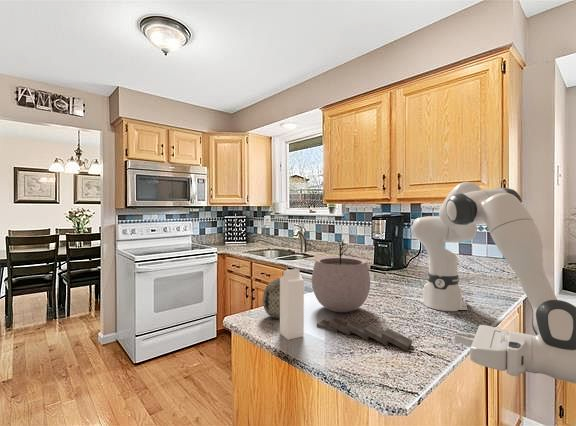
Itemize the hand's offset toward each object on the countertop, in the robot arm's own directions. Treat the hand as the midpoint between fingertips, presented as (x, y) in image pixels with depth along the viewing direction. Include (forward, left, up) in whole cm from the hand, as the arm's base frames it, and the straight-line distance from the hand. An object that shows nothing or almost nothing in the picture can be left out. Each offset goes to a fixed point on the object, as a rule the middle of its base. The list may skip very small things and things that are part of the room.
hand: (455, 336), depth 88 cm
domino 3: (0, -25, -6) cm, 25 cm away
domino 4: (0, -19, -6) cm, 19 cm away
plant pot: (-19, -46, -7) cm, 50 cm away
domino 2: (0, -31, -6) cm, 32 cm away
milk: (+14, -47, -7) cm, 49 cm away
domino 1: (0, -36, -6) cm, 37 cm away
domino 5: (0, -13, -6) cm, 14 cm away
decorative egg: (+4, -61, -7) cm, 61 cm away
